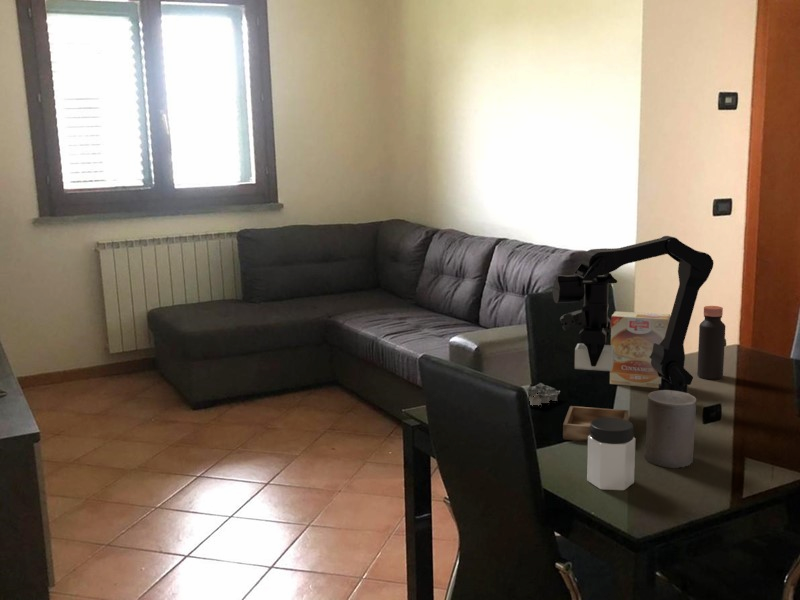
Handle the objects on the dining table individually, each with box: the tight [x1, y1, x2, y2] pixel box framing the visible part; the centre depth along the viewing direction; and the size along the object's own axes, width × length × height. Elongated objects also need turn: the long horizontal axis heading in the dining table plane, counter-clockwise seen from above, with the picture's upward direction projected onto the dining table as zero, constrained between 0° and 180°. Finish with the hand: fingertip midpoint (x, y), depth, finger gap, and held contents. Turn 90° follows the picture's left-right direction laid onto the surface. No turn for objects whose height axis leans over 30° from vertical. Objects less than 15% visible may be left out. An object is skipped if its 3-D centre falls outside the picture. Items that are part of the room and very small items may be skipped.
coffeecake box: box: [609, 310, 671, 389], centre depth 218 cm, size 15×7×20 cm, turn 67°
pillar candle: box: [644, 390, 697, 469], centre depth 165 cm, size 10×10×15 cm
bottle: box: [696, 305, 726, 381], centre depth 223 cm, size 7×7×20 cm
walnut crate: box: [562, 405, 630, 442], centre depth 183 cm, size 14×14×4 cm
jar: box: [586, 417, 636, 491], centre depth 155 cm, size 9×8×12 cm
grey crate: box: [574, 343, 614, 372], centre depth 197 cm, size 9×6×5 cm, turn 71°
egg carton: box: [525, 382, 561, 406], centre depth 206 cm, size 11×8×4 cm
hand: (594, 362), depth 197 cm, fingers closed on grey crate, 6 cm apart
